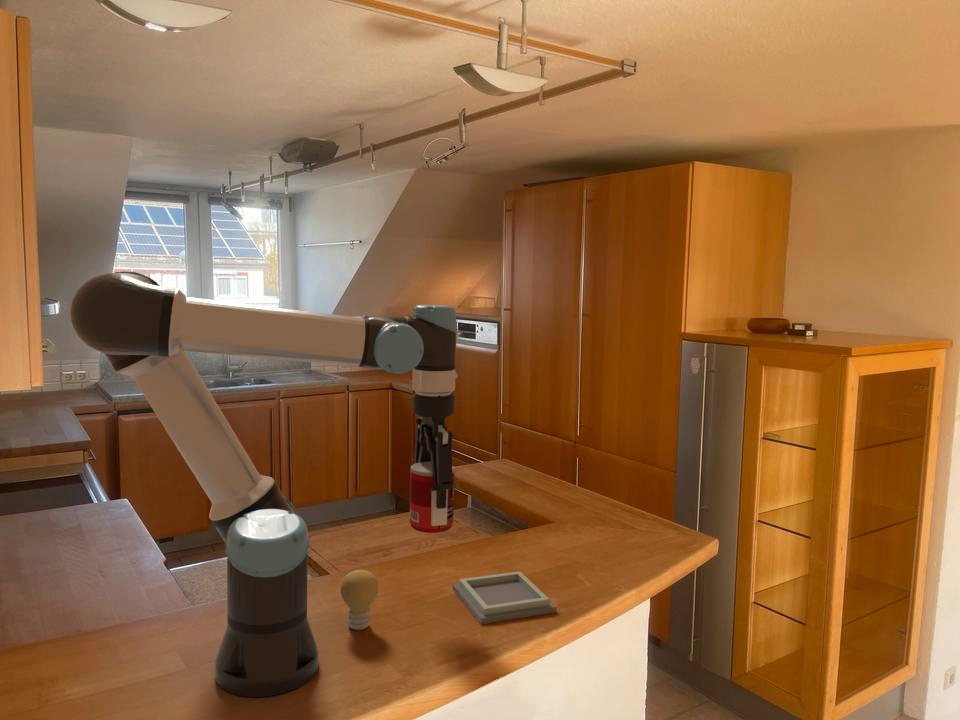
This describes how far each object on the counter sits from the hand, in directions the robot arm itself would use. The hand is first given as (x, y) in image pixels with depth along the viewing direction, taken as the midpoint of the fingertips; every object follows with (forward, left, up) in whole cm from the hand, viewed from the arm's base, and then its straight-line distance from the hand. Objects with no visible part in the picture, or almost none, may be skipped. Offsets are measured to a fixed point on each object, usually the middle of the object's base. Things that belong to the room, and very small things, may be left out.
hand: (431, 516), depth 130 cm
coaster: (+14, -1, -17) cm, 23 cm away
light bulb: (-14, -3, -18) cm, 22 cm away
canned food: (0, 0, -2) cm, 2 cm away
